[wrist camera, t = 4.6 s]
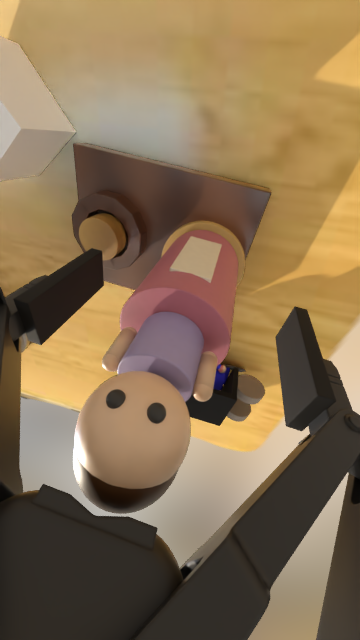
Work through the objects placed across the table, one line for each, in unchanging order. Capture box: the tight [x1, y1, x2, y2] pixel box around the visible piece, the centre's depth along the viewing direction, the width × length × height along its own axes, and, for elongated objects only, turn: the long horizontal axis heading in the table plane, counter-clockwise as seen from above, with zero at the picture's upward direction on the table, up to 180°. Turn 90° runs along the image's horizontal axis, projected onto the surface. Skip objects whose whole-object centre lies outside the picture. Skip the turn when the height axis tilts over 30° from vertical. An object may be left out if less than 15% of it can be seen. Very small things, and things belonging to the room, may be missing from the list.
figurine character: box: [185, 364, 265, 426], centre depth 30 cm, size 7×8×15 cm
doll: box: [73, 221, 245, 513], centre depth 13 cm, size 7×7×17 cm
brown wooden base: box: [72, 143, 271, 290], centre depth 21 cm, size 16×12×4 cm
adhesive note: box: [0, 36, 76, 181], centre depth 17 cm, size 6×6×6 cm
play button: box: [79, 213, 126, 260], centre depth 20 cm, size 4×4×2 cm
